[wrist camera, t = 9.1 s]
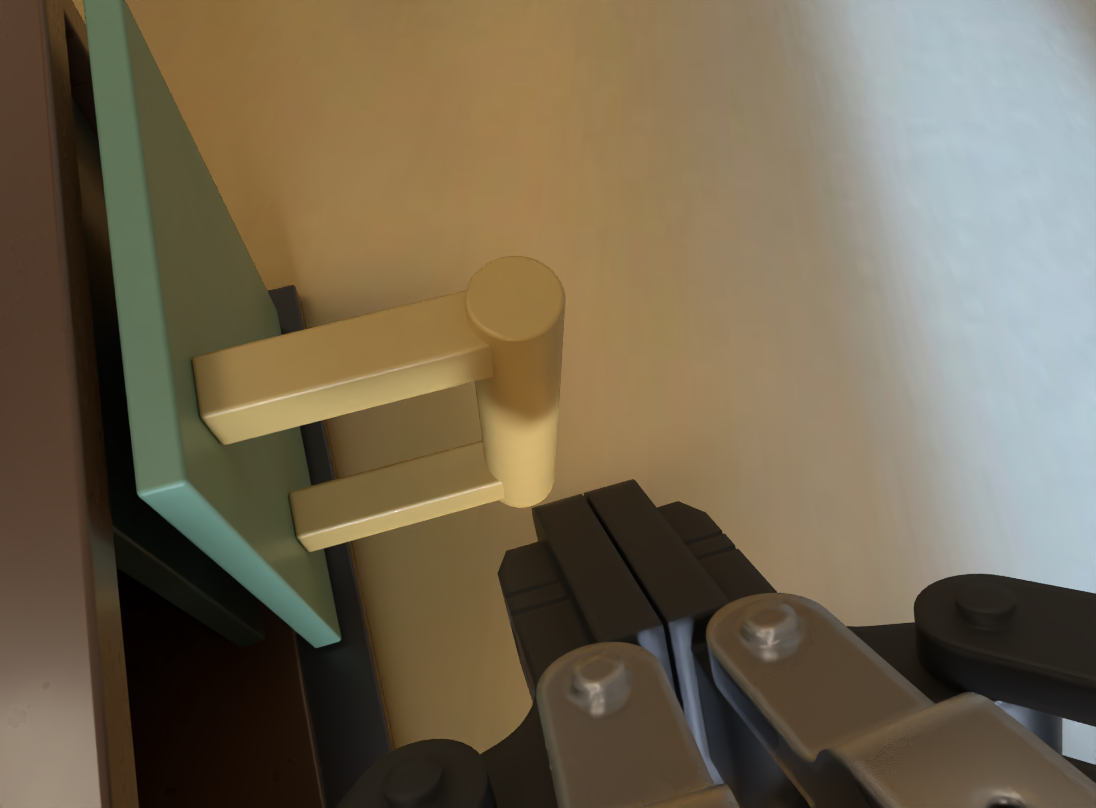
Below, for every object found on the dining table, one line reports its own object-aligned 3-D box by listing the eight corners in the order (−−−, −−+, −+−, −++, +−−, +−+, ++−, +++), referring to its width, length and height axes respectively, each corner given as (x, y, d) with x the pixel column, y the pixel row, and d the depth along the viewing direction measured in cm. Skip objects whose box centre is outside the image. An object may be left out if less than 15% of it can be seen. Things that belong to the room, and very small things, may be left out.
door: (314, 649, 19) (134, 496, 11) (253, 315, 23) (80, -5, 14) (574, 574, 20) (606, 374, 11) (476, 262, 24) (443, -72, 15)
